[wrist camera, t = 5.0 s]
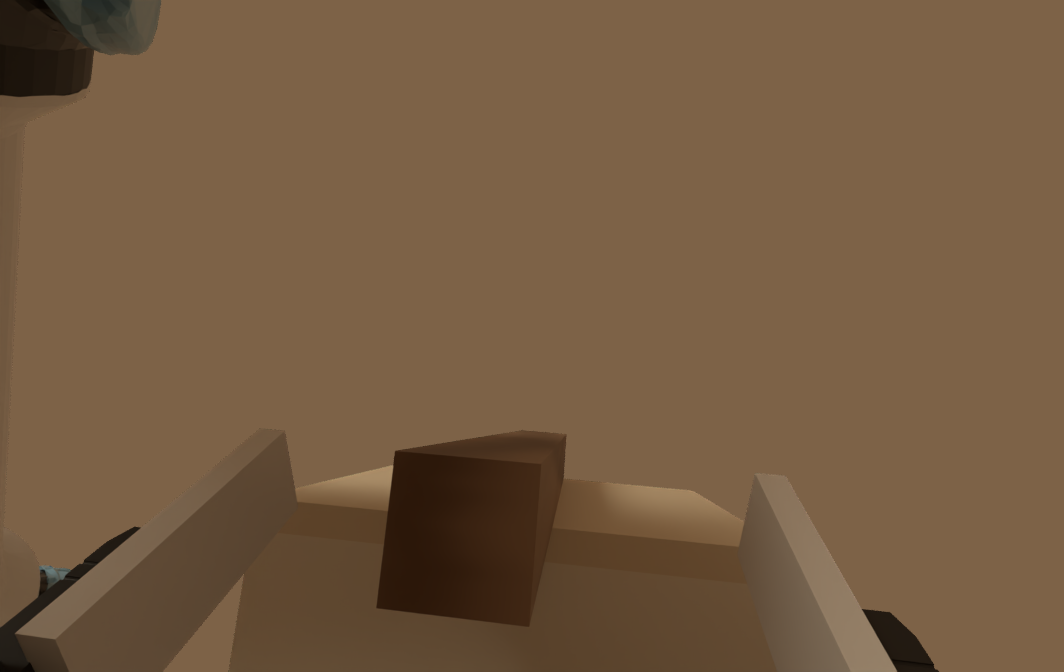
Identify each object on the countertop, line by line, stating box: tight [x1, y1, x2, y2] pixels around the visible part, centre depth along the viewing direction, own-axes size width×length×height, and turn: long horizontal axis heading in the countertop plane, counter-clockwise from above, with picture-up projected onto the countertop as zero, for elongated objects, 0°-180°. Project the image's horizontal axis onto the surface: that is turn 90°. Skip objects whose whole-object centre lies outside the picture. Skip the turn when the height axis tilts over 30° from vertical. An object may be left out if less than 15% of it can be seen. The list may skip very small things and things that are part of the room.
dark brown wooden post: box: [376, 431, 566, 627], centre depth 22 cm, size 3×24×3 cm, turn 175°
